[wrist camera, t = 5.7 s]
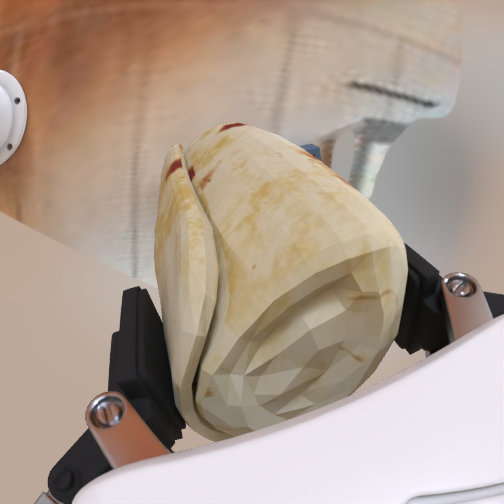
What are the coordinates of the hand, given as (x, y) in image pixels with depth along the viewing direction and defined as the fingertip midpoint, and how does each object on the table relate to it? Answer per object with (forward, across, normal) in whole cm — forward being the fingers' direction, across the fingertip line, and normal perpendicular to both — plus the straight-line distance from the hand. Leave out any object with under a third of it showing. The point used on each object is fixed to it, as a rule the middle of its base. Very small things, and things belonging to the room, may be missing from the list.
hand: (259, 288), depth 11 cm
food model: (+15, 0, 0) cm, 15 cm away
